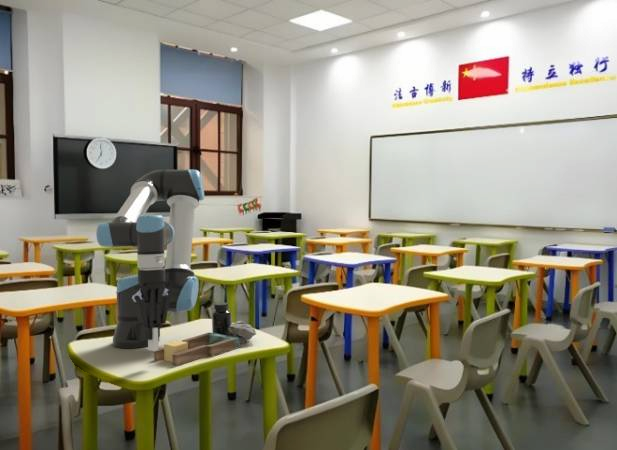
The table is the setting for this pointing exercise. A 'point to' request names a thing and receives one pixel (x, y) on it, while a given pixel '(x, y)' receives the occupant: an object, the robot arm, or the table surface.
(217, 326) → the supplement bottle
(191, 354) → the chute
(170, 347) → the block
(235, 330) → the mineral specimen
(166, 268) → the robot arm
